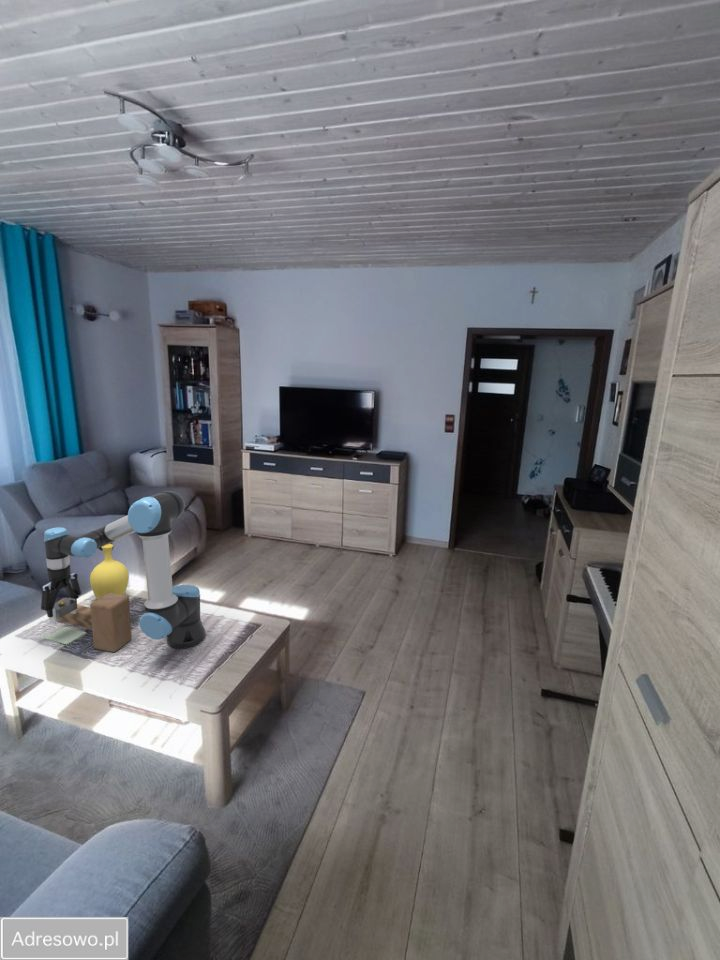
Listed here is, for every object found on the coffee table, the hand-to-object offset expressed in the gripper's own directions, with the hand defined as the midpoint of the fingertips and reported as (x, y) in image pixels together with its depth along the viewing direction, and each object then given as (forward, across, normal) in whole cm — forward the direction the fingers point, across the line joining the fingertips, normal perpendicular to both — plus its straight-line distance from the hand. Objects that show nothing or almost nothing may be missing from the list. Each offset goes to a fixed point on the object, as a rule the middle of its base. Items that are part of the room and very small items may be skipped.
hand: (63, 617), depth 176 cm
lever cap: (-3, 0, 0) cm, 3 cm away
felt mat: (+8, 0, 0) cm, 8 cm away
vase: (+9, -30, -8) cm, 33 cm away
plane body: (+8, -10, -2) cm, 13 cm away
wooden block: (+8, -2, +22) cm, 24 cm away
